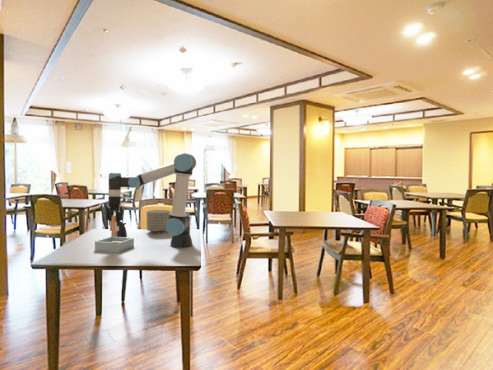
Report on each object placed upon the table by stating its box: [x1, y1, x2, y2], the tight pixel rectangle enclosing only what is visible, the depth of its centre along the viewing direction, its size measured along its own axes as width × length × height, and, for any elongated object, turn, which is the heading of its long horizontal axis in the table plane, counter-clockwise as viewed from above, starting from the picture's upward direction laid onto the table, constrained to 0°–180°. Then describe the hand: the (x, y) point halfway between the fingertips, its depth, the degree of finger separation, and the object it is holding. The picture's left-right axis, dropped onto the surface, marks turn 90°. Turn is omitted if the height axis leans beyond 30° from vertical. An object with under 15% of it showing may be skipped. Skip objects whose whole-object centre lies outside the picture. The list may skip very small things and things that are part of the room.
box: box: [94, 235, 135, 254], centre depth 204 cm, size 18×16×6 cm
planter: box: [146, 209, 171, 234], centre depth 258 cm, size 19×19×18 cm
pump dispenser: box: [116, 220, 128, 238], centre depth 223 cm, size 10×10×15 cm
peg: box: [110, 214, 117, 237], centre depth 204 cm, size 4×4×14 cm
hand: (114, 230), depth 204 cm, fingers closed on peg, 3 cm apart
